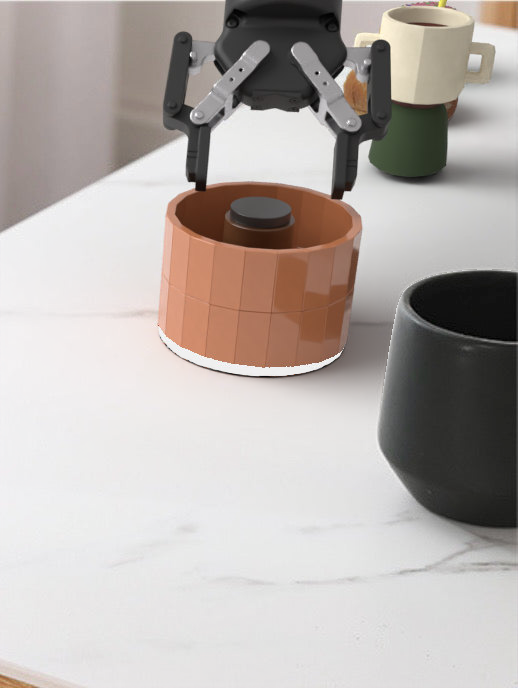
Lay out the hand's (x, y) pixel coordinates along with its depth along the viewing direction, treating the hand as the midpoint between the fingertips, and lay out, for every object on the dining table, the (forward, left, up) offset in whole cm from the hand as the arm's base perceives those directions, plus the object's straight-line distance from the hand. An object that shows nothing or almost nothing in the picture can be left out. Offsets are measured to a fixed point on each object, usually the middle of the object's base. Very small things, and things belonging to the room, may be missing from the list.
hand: (269, 190), depth 99 cm
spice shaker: (0, 0, -9) cm, 10 cm away
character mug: (-12, -34, -10) cm, 37 cm away
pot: (0, 0, -10) cm, 10 cm away
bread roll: (-12, -50, -10) cm, 52 cm away
